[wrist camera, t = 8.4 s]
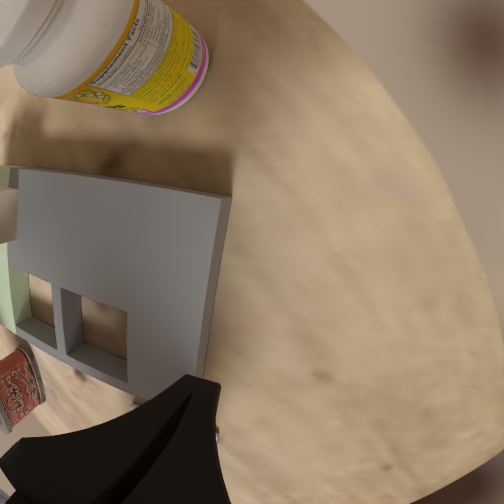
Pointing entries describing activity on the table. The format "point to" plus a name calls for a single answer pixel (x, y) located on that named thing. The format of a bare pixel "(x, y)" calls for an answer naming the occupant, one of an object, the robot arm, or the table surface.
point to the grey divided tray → (115, 271)
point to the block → (8, 214)
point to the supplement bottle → (103, 52)
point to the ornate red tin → (19, 387)
